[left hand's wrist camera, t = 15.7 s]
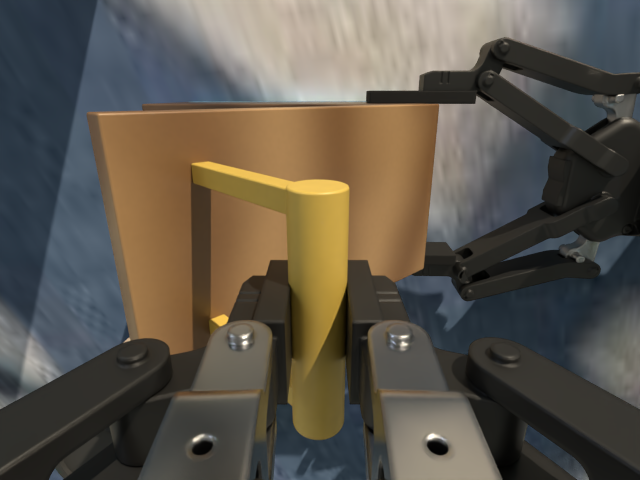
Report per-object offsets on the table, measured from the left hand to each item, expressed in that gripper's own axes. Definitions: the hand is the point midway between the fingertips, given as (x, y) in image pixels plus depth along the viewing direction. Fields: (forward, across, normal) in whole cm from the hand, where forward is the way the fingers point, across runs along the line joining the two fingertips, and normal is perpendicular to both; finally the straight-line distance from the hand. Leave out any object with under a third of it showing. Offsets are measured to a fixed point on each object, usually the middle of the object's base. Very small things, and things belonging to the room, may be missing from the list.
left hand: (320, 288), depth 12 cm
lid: (+8, -1, 0) cm, 8 cm away
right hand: (+17, +3, 0) cm, 17 cm away
